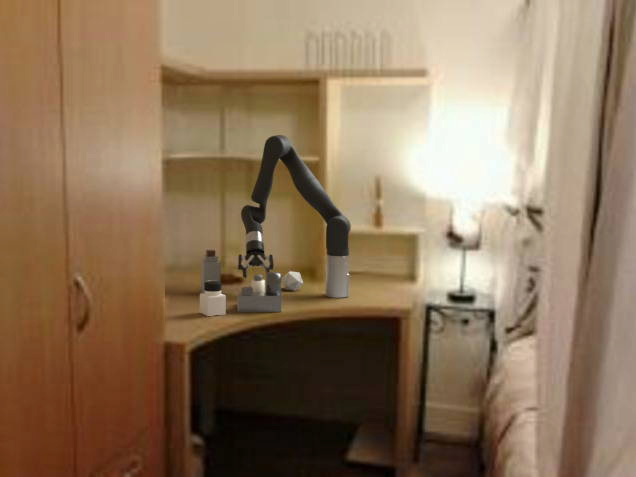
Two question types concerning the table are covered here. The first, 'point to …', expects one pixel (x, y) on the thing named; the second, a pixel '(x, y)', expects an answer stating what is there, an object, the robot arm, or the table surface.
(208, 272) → the perfume bottle
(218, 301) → the medicine bottle
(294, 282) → the die
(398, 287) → the table surface
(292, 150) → the robot arm
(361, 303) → the table surface
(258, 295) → the block
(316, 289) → the table surface
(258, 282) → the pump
